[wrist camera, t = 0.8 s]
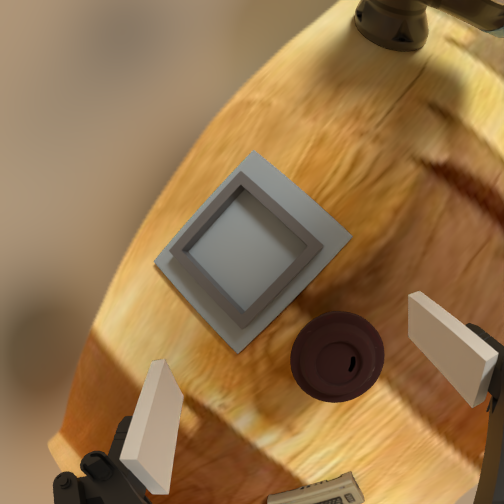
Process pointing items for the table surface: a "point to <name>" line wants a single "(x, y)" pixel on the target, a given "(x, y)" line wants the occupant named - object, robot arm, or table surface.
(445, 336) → the robot arm
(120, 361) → the table surface
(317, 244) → the pocket plate
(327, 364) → the coffee cup
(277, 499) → the computer
